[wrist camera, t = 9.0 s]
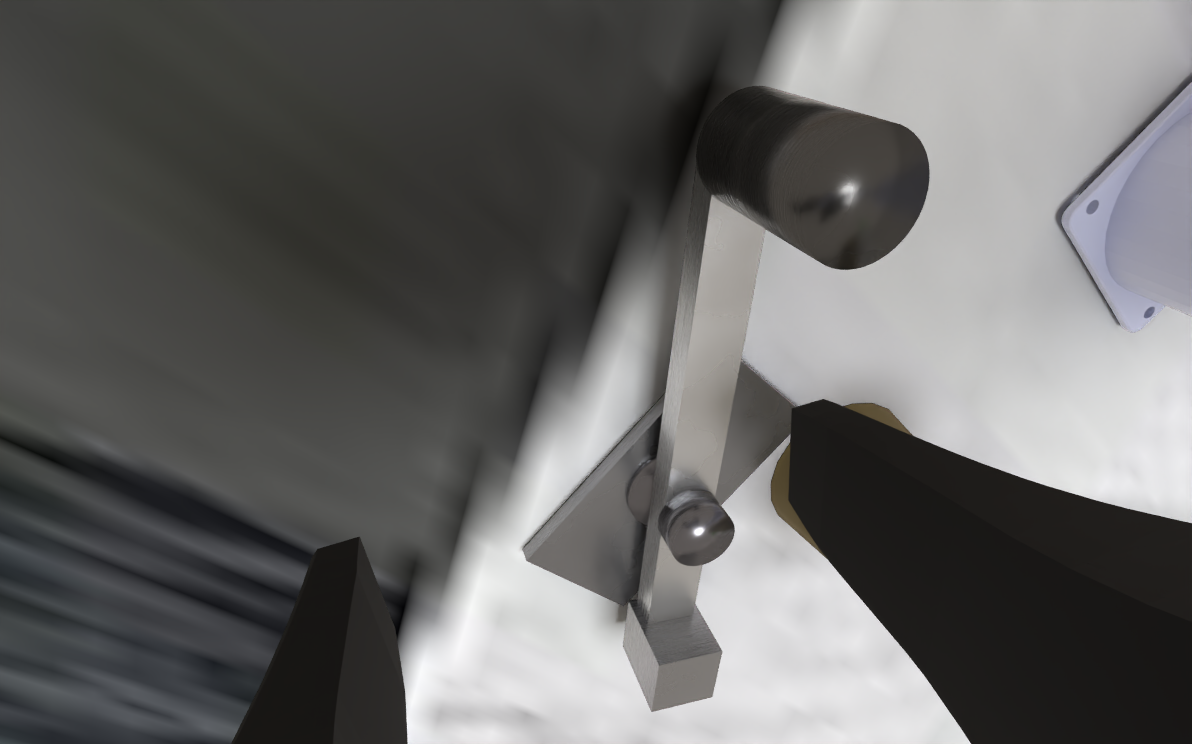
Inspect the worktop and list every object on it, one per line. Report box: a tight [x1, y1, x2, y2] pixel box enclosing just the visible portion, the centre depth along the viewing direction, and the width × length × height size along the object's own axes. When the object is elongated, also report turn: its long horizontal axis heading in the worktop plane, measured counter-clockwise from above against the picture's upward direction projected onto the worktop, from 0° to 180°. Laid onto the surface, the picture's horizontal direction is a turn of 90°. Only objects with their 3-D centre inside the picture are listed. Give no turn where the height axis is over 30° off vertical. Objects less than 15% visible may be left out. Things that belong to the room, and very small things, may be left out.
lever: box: [623, 86, 929, 712], centre depth 21 cm, size 21×3×6 cm, turn 176°
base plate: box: [523, 360, 796, 606], centre depth 26 cm, size 10×5×1 cm, turn 137°
